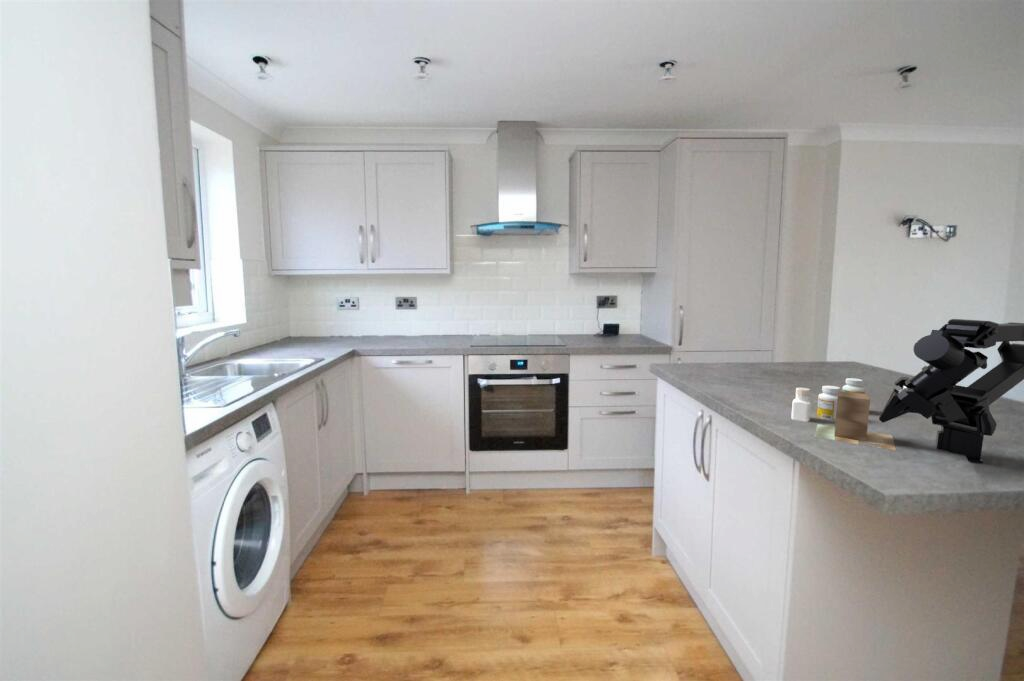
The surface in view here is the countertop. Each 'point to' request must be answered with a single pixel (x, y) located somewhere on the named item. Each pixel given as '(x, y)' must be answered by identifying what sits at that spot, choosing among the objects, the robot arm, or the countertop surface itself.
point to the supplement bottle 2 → (854, 386)
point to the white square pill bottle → (801, 405)
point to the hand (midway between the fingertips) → (880, 420)
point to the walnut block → (852, 415)
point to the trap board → (875, 438)
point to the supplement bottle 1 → (828, 402)
